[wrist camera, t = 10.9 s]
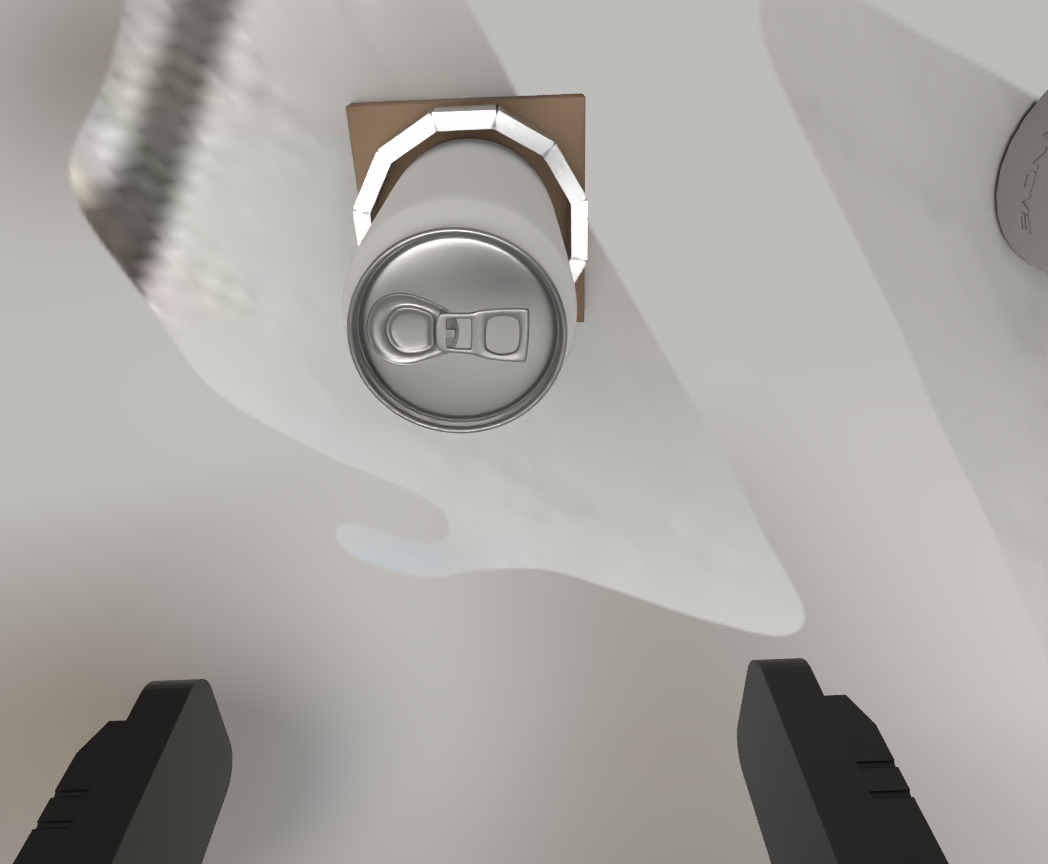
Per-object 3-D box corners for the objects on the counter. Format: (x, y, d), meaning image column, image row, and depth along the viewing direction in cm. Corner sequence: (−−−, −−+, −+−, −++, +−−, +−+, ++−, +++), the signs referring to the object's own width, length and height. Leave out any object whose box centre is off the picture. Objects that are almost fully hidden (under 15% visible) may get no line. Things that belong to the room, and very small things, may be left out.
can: (387, 131, 27) (318, 203, 17) (559, 139, 28) (597, 215, 17) (393, 297, 31) (338, 444, 20) (548, 303, 31) (573, 451, 20)
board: (581, 93, 28) (585, 96, 27) (581, 311, 32) (583, 321, 31) (351, 103, 28) (345, 106, 27) (381, 321, 32) (378, 331, 31)
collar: (582, 99, 27) (588, 106, 25) (581, 319, 31) (586, 337, 30) (349, 109, 27) (338, 116, 25) (380, 328, 31) (373, 347, 29)
